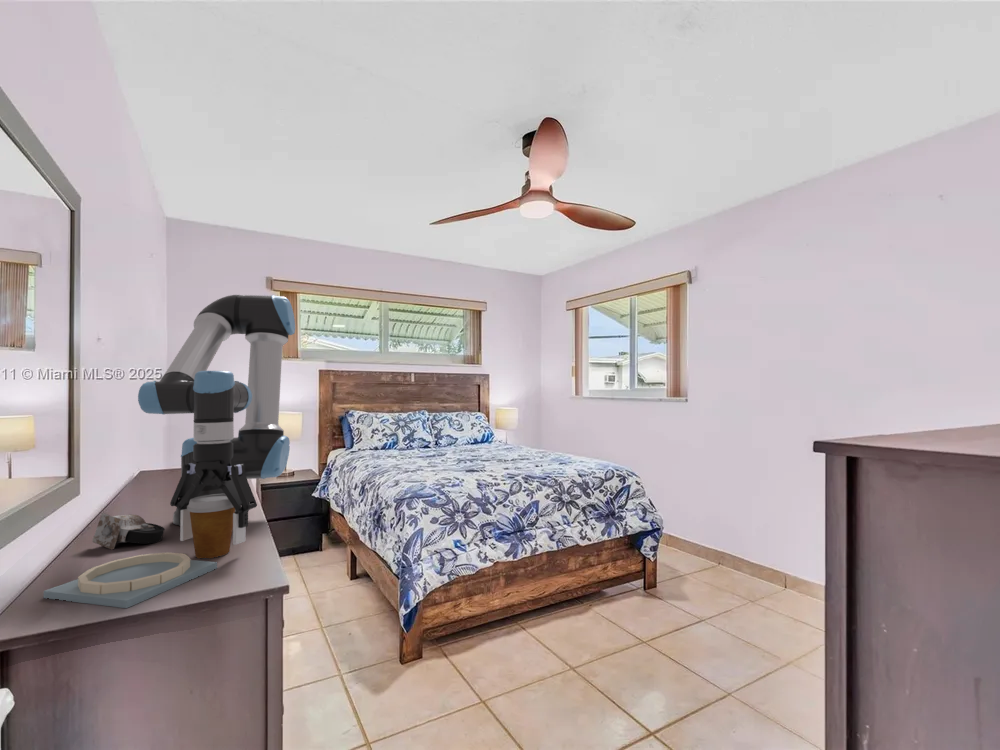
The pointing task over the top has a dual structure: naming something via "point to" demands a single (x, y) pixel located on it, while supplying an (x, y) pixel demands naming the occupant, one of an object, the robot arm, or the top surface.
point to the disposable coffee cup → (211, 524)
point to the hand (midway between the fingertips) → (212, 541)
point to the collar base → (131, 579)
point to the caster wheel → (126, 530)
